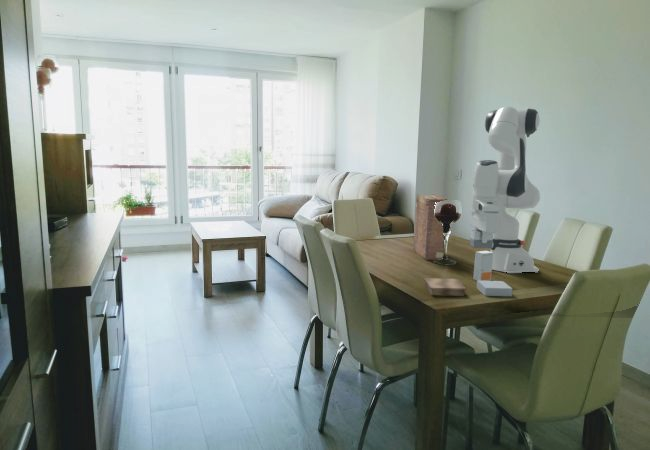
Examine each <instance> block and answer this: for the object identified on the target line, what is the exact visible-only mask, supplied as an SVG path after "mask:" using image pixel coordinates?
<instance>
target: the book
mask: <svg viewBox="0 0 650 450" xmlns="http://www.w3.org/2000/svg"><path fill="white" fill-rule="evenodd" d="M444 200H448V199H447V198H445V197H442V196H440V195H436V194H432V195H428V194H427V195H421V194H416V200H415V201H416V202H415V216H414V217H415V219H414V220H415V221H414V235H413V236H414V237H413V250H414V251H415V252H416V253H417V254H418V255H420V257H422V258H423V259H424V260H426V261H427V260H428V261H439V260H438V259H442V258H443V257H444V258H445V249H444V240H445V241H446V235H445V236H444V235H443V227H442V224H441V223H440V222H439V221H437V220H436V219H437V218H435V216H434V209H435V206H434V205H436V204H435V202H436V203H437V202H440V201H444Z"/></svg>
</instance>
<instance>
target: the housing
mask: <svg viewBox="0 0 650 450" xmlns="http://www.w3.org/2000/svg"><path fill="white" fill-rule="evenodd" d="M469 235H470V236H469V237H470V238H469V246H470V247H471V248H473V249H476V248H477V249H490V248H492V245H493V233H489V236H488V238H487V243H482V242H481V238H482V235H483V234H482V230H475V229H470V234H469Z"/></svg>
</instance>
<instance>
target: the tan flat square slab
mask: <svg viewBox="0 0 650 450" xmlns="http://www.w3.org/2000/svg"><path fill="white" fill-rule="evenodd" d="M423 280H424V281H425V282H424V283H425V284H424V286H425V288H426V290H427V291H428V292H429V293H430V295H431V296H453V297H455V296H456V297H464V296H465V291H467V288H466V286H464V285H463V283H462V282H460V280H459V279H457V278H435V277H432V278H431V277H430V278H429V277H424V278H423Z"/></svg>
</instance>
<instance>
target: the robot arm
mask: <svg viewBox="0 0 650 450" xmlns="http://www.w3.org/2000/svg"><path fill="white" fill-rule="evenodd" d="M540 121H541V119H540V114H539V112H538V111H537V110H536V109H535V108H515V107H513V106H503V107H501V108H499V109H495V110H492V111H491V110H490V111H489V112H488V113H486V117H485V119H484V127H485V131H486V132H487V133H488V138H487V139H488V143H489V144H490V146H491V147H492V148H493V149H494V150H496V151H497V152H498V153H499V155H498V161H495V160H493V159H483V160H479V161H477V162H476V164H475V168H474V172H473V180H472V181H473V183H472V187H473V192H472V194H471V195H472V196H471V207H470V208H471V209H470V215H469V225H470V226H471V227H473V228H474V230H482V234H483V235H482V238H481V242H482V243H487V238H488V236H489V233H493V245H492V248H489V249H490V251H489V252H492V253H493V262H492V271H493V270H494V271H498V272H504V273H506V272H507V274H523V273H522V272H535V273H539V272H538V271H540V269H539V268H538V267H537V266H535V262H534V258H533V256H532V255H531V254H530V253H529V252H528V251H526V250H525V249H524V248H523V247H522V246H526V244H527V242H526V241H525V240H521V239H519V233H520V232H519V230H520V223H519V221H518V219H517V218H516V217H514V216H513V215H510V214H508V213H507V211H506V210H507V209H517V210H526V209H533V208H535V207H536V206H537V205H538V204H539V202H540V199H541V193H540V190H539V189H538V187H537V186H535V185H534V184H533V183H532V182H531V181H530V180H529V177H528V175H527V172H526V170H527V169H526V155H527V154H526V153H527V138H529V137H530V136H531V135H533V134H534V133H535V132H537V130H538V128H539V126H540Z"/></svg>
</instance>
